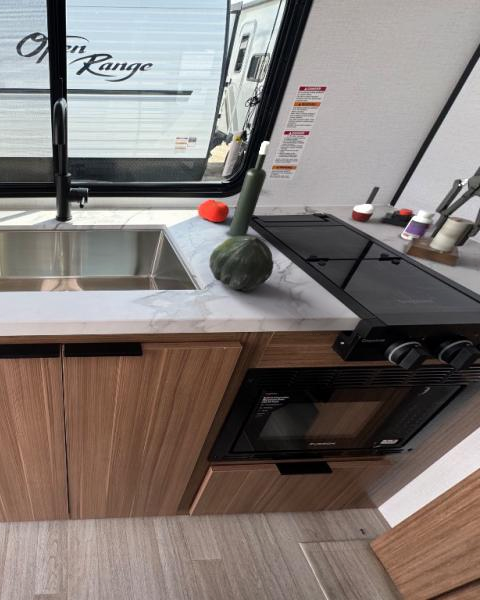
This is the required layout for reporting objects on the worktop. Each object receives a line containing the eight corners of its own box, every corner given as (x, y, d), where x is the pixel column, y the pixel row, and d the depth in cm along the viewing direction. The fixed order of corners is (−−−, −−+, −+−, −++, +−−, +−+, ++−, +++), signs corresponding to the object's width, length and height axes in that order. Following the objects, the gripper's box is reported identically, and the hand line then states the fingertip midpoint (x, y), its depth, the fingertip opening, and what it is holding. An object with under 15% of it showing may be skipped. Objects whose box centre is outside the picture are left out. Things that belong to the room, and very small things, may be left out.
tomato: (213, 226, 120) (218, 209, 116) (192, 216, 128) (195, 200, 124) (231, 221, 124) (236, 204, 120) (209, 212, 132) (213, 196, 128)
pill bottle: (421, 242, 111) (440, 215, 105) (402, 239, 113) (419, 212, 108) (418, 237, 115) (436, 210, 109) (399, 233, 117) (416, 207, 111)
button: (410, 214, 123) (413, 210, 122) (410, 217, 121) (413, 212, 120) (398, 212, 125) (401, 207, 124) (398, 214, 123) (400, 210, 122)
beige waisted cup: (437, 243, 104) (457, 215, 98) (457, 250, 99) (480, 222, 94) (424, 245, 102) (444, 216, 97) (445, 252, 98) (467, 223, 93)
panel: (455, 256, 103) (462, 247, 101) (456, 267, 97) (463, 257, 95) (407, 244, 109) (413, 236, 108) (405, 254, 103) (411, 245, 102)
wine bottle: (249, 236, 113) (281, 142, 95) (236, 238, 111) (266, 143, 94) (237, 230, 117) (266, 139, 100) (224, 232, 115) (252, 140, 98)
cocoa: (359, 224, 124) (376, 193, 117) (343, 218, 128) (358, 188, 122) (375, 221, 127) (392, 190, 120) (358, 216, 131) (375, 186, 125)
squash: (231, 244, 95) (227, 216, 82) (283, 264, 86) (288, 237, 74) (203, 283, 94) (195, 261, 82) (253, 308, 86) (253, 287, 74)
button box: (416, 224, 125) (422, 214, 123) (415, 230, 120) (422, 219, 118) (383, 217, 130) (389, 207, 128) (381, 222, 126) (387, 212, 123)
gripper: (453, 155, 92) (405, 230, 106) (545, 171, 78) (475, 256, 91) (470, 153, 94) (420, 228, 108) (563, 169, 80) (492, 253, 93)
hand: (446, 241), depth 100 cm, fingers closed on beige waisted cup, 6 cm apart
